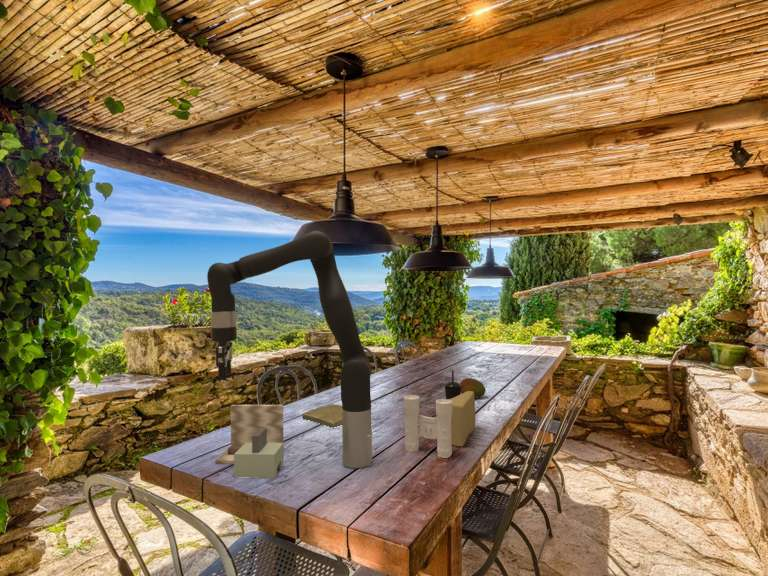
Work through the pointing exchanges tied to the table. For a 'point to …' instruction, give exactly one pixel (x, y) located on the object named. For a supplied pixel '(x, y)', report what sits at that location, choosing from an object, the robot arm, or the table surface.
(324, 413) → the decorative tile
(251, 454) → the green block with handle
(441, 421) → the binoculars
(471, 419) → the cheese
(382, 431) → the table surface
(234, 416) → the wooden stand
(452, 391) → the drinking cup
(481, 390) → the fruit
